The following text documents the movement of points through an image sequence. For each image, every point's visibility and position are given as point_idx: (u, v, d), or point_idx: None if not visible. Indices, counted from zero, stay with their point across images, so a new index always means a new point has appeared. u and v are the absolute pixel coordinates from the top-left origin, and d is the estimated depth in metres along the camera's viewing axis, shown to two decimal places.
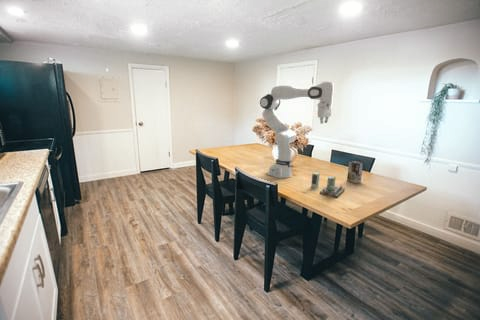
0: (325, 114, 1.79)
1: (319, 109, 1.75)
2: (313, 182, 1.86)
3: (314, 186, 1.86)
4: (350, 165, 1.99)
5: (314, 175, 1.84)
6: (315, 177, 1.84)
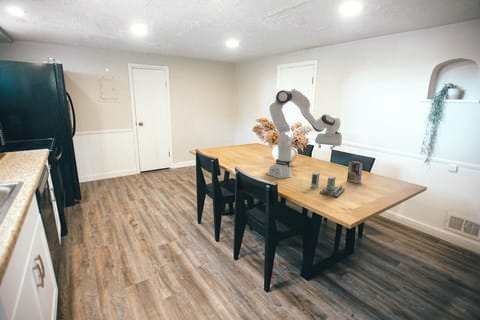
0: None
1: (341, 138, 1.90)
2: (313, 182, 1.86)
3: (314, 186, 1.86)
4: (350, 165, 1.99)
5: (314, 175, 1.84)
6: (315, 177, 1.84)
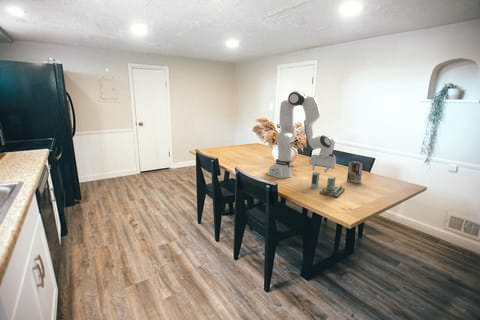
0: None
1: (335, 161, 1.87)
2: (313, 182, 1.86)
3: (314, 186, 1.86)
4: (350, 165, 1.99)
5: (314, 175, 1.84)
6: (315, 177, 1.84)
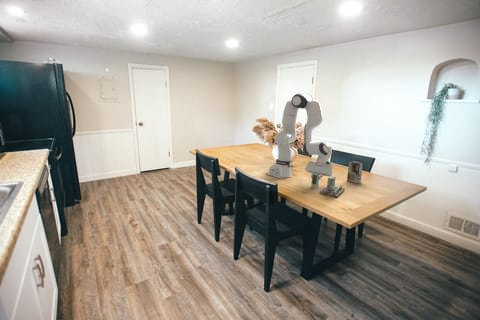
0: None
1: (331, 168, 1.84)
2: (313, 182, 1.86)
3: (314, 186, 1.86)
4: (350, 165, 1.99)
5: (314, 175, 1.84)
6: (315, 177, 1.84)
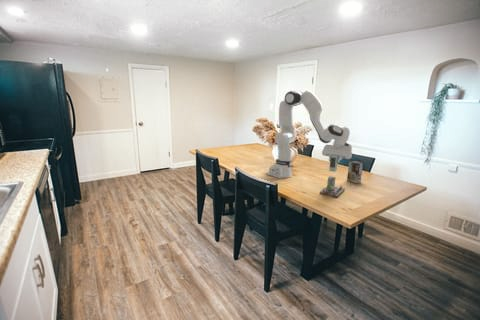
0: None
1: (351, 150, 1.73)
2: (331, 165, 1.75)
3: (332, 170, 1.75)
4: (350, 165, 1.99)
5: (332, 158, 1.73)
6: (334, 160, 1.73)
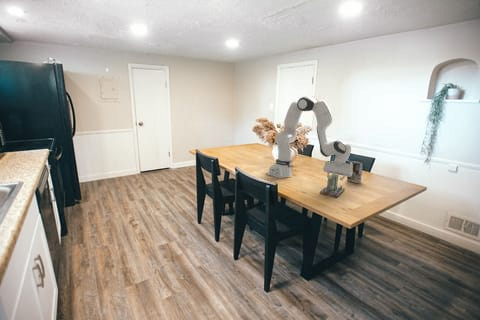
0: None
1: None
2: None
3: None
4: None
5: None
6: None
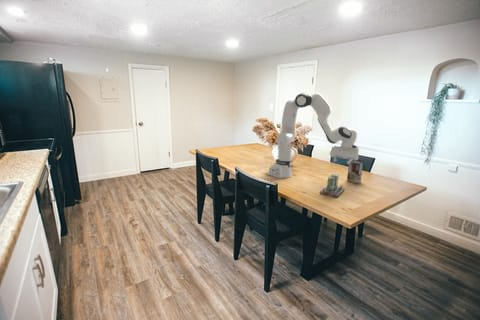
0: None
1: None
2: None
3: None
4: (350, 165, 1.99)
5: None
6: None
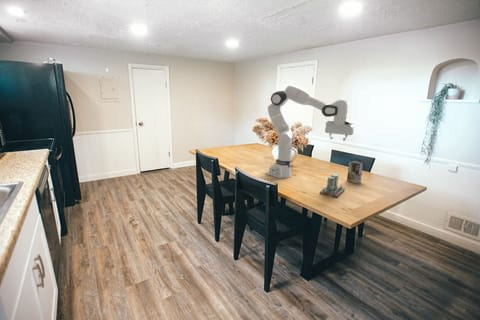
0: None
1: (352, 127, 1.80)
2: None
3: None
4: (350, 165, 1.99)
5: None
6: None
